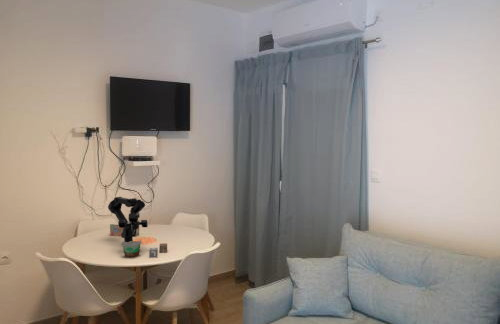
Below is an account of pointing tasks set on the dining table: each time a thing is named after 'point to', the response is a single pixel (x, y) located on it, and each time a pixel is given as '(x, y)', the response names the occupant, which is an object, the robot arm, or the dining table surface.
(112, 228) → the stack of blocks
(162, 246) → the walnut block numbered 1
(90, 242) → the dining table surface
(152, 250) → the charcoal block numbered 7
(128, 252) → the food container
